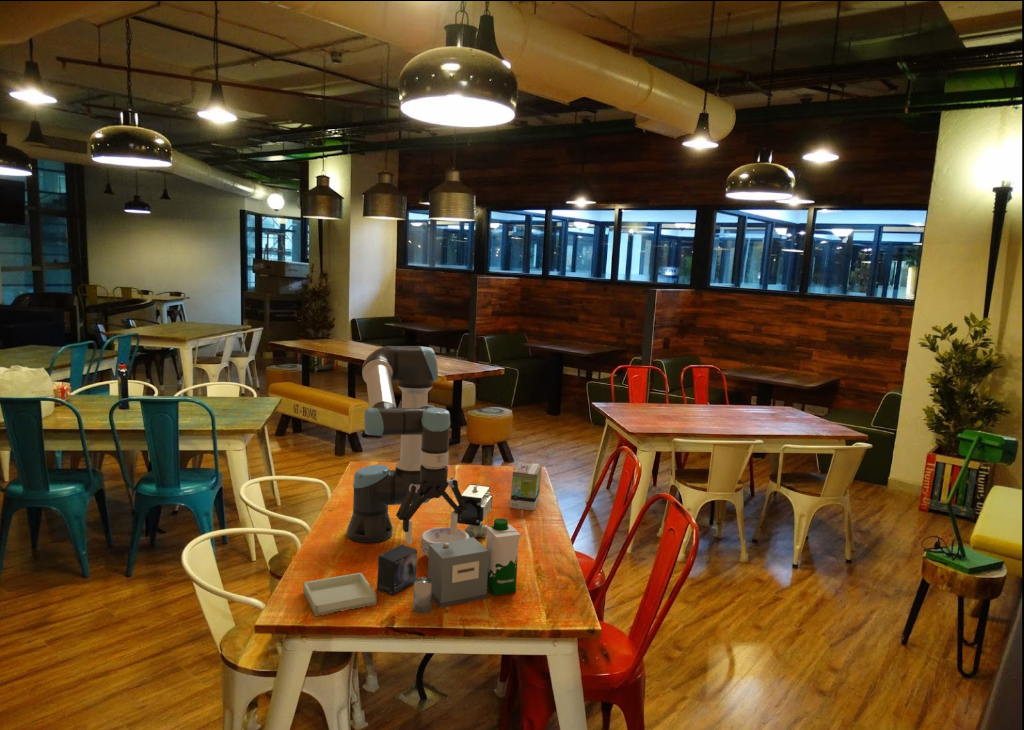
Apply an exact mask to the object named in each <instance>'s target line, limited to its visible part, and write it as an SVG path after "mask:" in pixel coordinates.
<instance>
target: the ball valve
mask: <svg viewBox="0 0 1024 730" xmlns="http://www.w3.org/2000/svg"><path fill="white" fill-rule="evenodd" d="M461 495H462V497H463V500H464V502H465V504H466V506H467V509H466V510H463V511H462V514H460V522H459V523H458V524H462V525H467V526H466V528H465V529H464V531H465V532H466V533H468V535H469V537H470V538H473V537H474V538H475V539H476V538H483V537H484V538H487V527H489V526H488V524H484V523H483V522H484V520H485V518H486V517H487V515H488V514H489V513H490V512H491V510H492V508H493V494H491V486H490V485H482V484H474V483H473V484H472V483H470V484H469V485H468V486H467V487H466V489H465V490H464V491H463V492H462V493H461Z"/></svg>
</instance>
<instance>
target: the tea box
mask: <svg viewBox="0 0 1024 730" xmlns="http://www.w3.org/2000/svg"><path fill="white" fill-rule="evenodd" d="M542 466H543V465H542V464H541V463H532V462H523V461H517V464H516V466H515V467H514V469H513V471H512V476H511V478H512V479H511V491H510V500H509V501H510V503H509V505H510V506H509V508H511V509H517V510H525V511H535V510H536V507H537V504H538V502H539V500H540V493H541V479H542Z"/></svg>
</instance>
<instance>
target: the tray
mask: <svg viewBox="0 0 1024 730" xmlns="http://www.w3.org/2000/svg"><path fill="white" fill-rule="evenodd" d="M302 584H303V586H302V587H303V589H302V590H303V591H302V593H303V595H304V597H305V596H306V597H305V599H306V598H307V599H306V600H307V603H308V602H309V603H308V605H309V604H310V605H309V607H310V606H311V607H310V609H311V608H312V609H311V610H313V611H312V613H313V612H314V613H313V615H314V614H315V615H314V617H315V616H316V615H322V614H327V613H332V612H337V611H341V610H346V609H353V610H355V609H354V608H358V609H360V608H359V607H363V608H366V607H365V606H368V607H371V606H370V605H373V606H376V605H377V602H378V601H377V599H378V597H377V595H378V594H377V593H376V592H375V590H374V589H373V587H372V586H371V584H370V583H369V582H368V580H367V579H366V577H365V575H364V574H363V573H362V572H357V573H350V574H345V575H343V574H342V575H338V576H332V577H326V578H322V579H321V578H320V579H315V580H310V581H309V580H308V581H303V583H302ZM337 613H338V612H337ZM332 614H333V613H332ZM327 615H328V614H327ZM322 616H323V615H322Z"/></svg>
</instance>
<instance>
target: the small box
mask: <svg viewBox="0 0 1024 730" xmlns="http://www.w3.org/2000/svg"><path fill="white" fill-rule="evenodd" d="M377 556H378V559H377V560H378V561H377V581H376V583H377V584H376V590H378V591H380V592H383V593H385V594H388V595H390V596H394V595H396V594H397V593H399V592H401V591H403V590H405V589H407V588H409V587H410V586H412V585H414V580H415V579H416V578H417V567H418V565H417V564H418V549H415V548H413V547H412V546H408V545H405V544H402V543H401V544H399V545H398V546H395V547H393V548H391V549H389V550H386V551H385V552H384V551H383V553H381V554H378V555H377Z"/></svg>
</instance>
